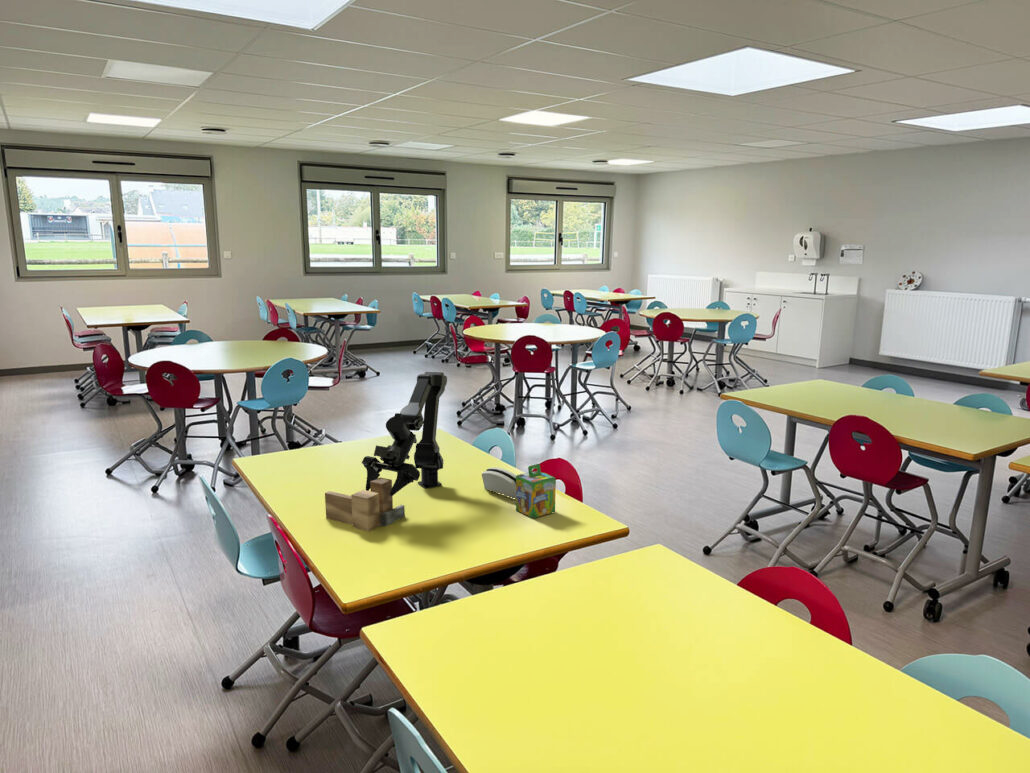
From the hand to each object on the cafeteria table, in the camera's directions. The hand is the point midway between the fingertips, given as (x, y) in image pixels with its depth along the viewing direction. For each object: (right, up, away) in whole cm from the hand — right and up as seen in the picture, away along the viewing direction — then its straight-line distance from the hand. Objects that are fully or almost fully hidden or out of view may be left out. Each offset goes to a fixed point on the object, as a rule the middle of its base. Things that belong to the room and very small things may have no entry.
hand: (378, 492), depth 208 cm
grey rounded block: (+37, -4, +24) cm, 44 cm away
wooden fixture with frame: (-5, -8, +3) cm, 10 cm away
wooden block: (+1, -8, +3) cm, 9 cm away
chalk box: (+47, -7, +9) cm, 48 cm away
